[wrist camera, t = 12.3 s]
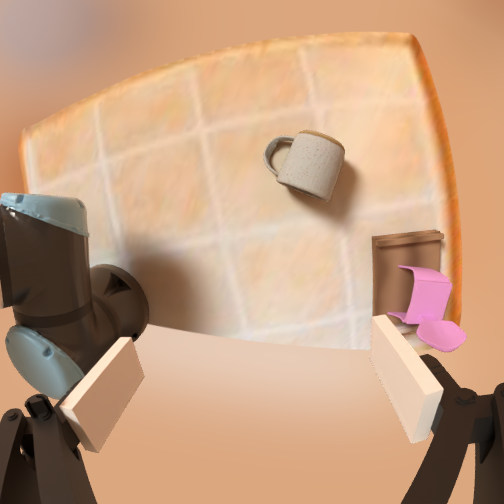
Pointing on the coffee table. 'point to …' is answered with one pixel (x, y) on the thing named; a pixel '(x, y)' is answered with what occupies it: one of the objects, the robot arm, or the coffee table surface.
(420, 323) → the toy chair
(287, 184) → the ceramic mug
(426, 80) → the coffee table surface
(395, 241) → the shelf board
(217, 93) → the coffee table surface
